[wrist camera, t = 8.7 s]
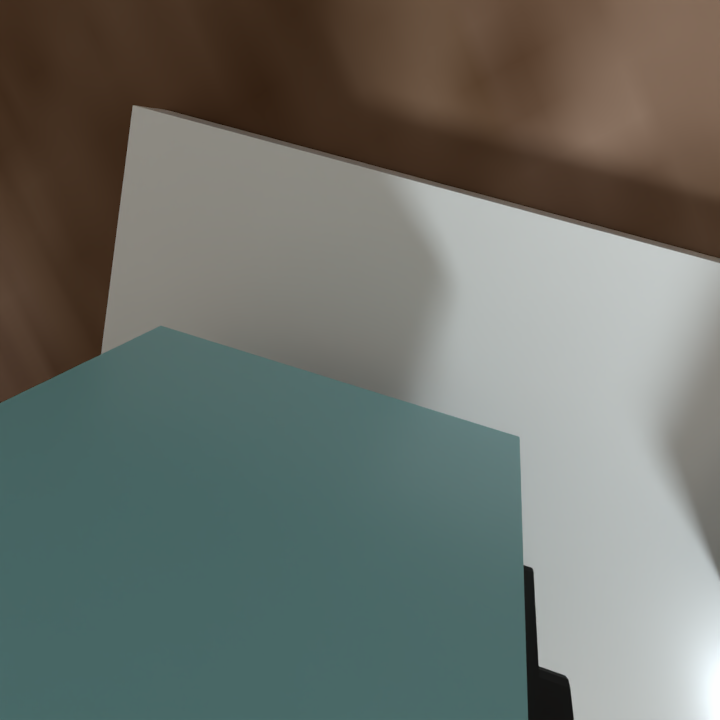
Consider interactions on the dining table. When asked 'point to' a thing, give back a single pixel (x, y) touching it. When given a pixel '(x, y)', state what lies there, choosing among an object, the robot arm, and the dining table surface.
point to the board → (472, 367)
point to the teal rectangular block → (253, 547)
